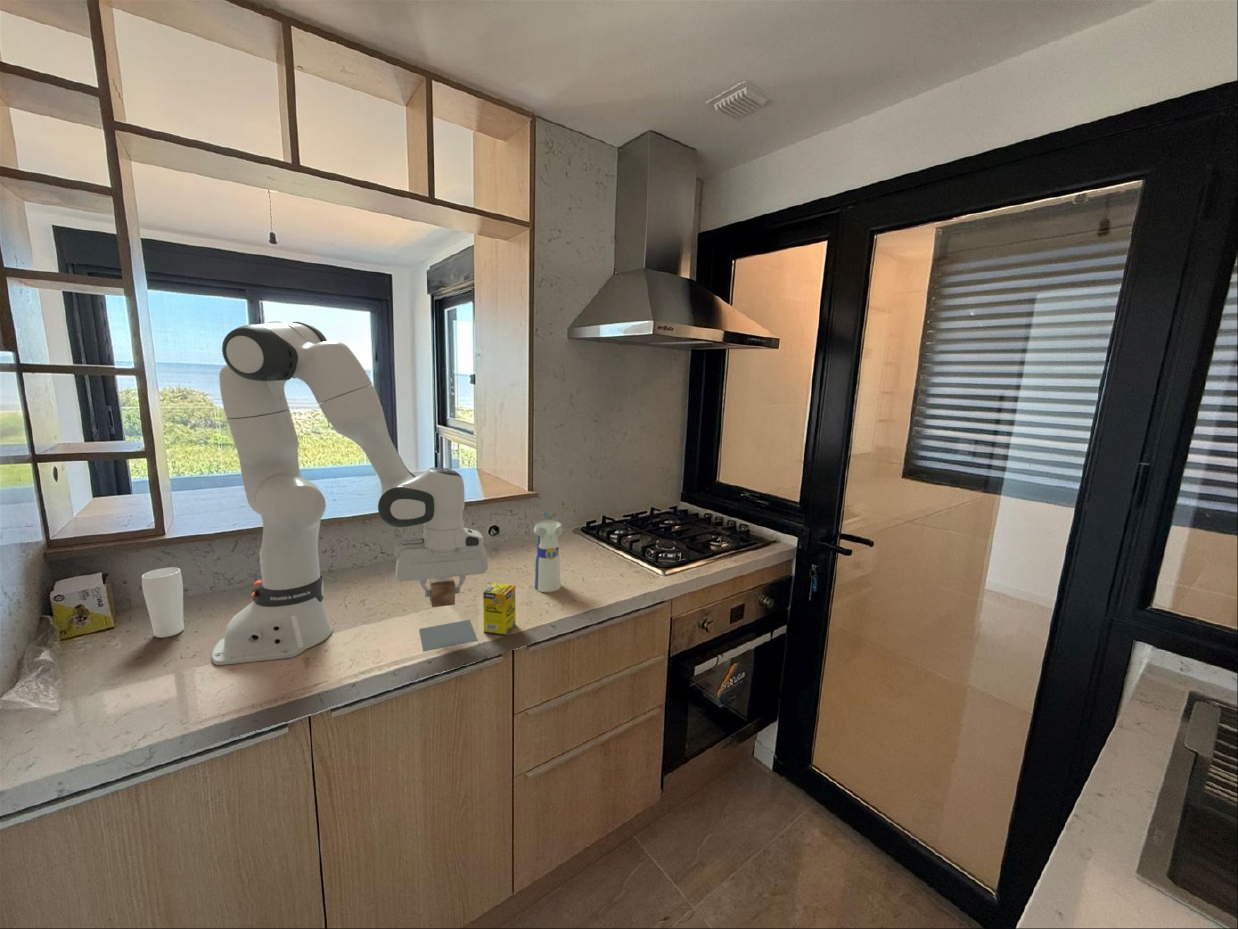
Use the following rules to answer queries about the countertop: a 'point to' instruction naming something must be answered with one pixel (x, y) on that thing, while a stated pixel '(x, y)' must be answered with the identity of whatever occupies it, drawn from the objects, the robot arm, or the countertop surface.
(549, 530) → the white and blue cylinder
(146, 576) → the drinking glass
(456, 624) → the mat
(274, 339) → the robot arm
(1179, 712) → the countertop surface
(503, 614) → the supplement box
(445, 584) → the walnut cube
